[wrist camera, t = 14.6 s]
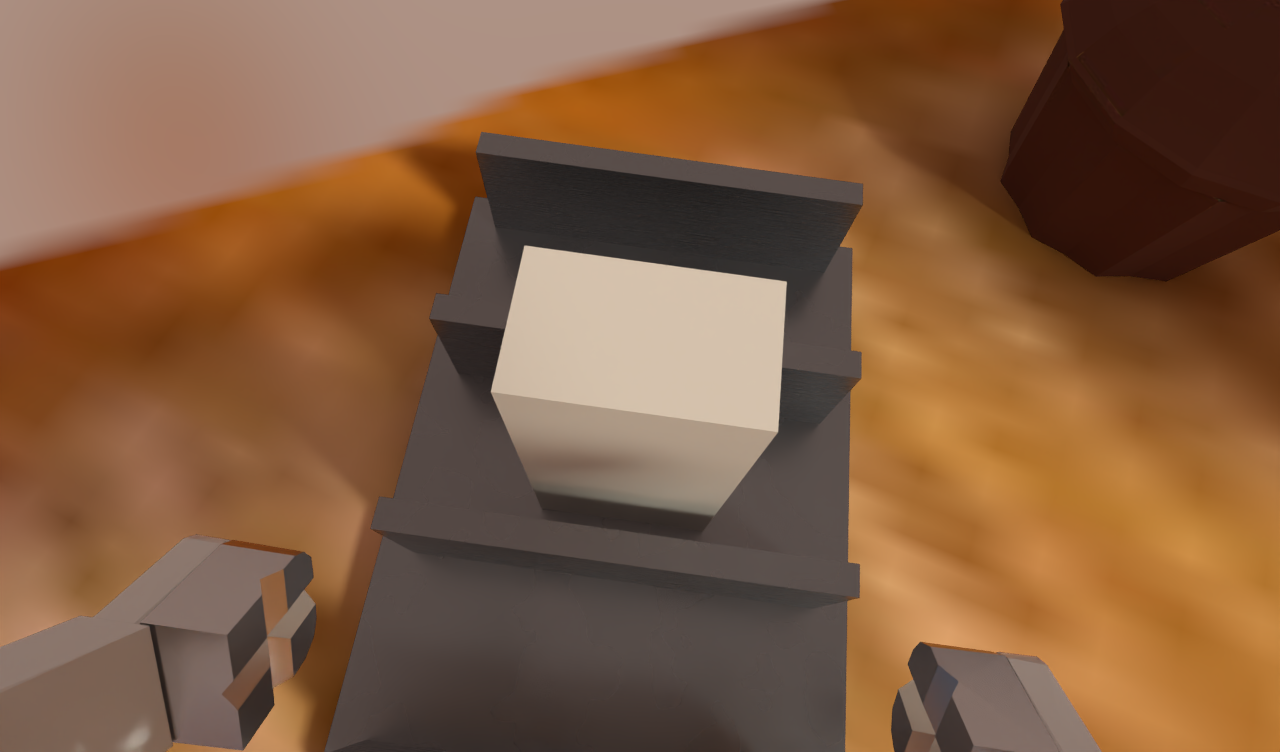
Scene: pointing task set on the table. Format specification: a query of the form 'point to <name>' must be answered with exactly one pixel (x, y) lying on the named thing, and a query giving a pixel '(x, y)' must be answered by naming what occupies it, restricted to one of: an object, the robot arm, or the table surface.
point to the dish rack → (605, 547)
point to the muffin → (1152, 135)
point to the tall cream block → (639, 384)
